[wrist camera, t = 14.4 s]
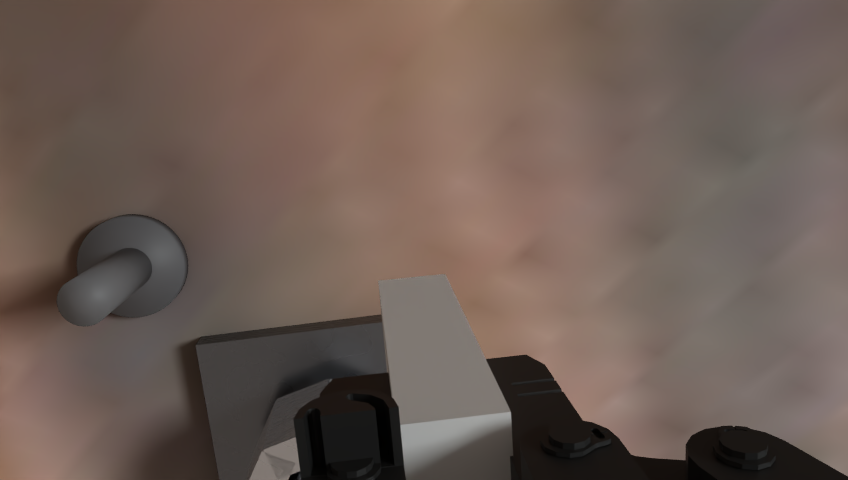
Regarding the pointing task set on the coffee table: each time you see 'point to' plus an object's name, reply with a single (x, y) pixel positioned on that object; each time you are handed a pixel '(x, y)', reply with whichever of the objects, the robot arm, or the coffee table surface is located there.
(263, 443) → the grey octagonal holder
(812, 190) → the coffee table surface
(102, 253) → the stand
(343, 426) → the robot arm
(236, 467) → the square peg base
